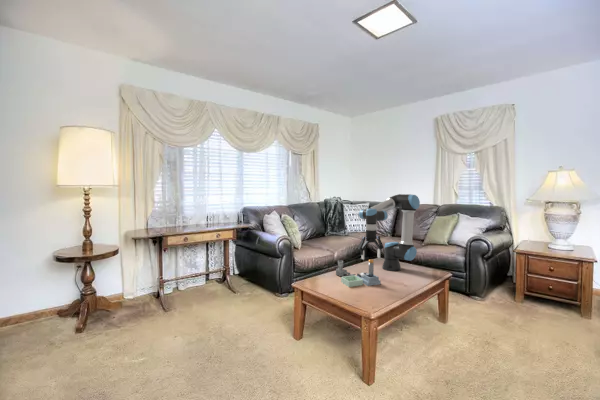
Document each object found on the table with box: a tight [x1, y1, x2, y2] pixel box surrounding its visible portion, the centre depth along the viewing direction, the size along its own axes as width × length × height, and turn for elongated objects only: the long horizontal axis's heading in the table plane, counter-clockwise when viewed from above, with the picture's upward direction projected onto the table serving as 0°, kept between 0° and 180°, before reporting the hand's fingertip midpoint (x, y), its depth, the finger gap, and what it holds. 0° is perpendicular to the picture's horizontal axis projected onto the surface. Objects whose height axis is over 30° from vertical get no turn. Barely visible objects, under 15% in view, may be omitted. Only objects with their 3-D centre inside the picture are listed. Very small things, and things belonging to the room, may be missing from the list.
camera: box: [335, 259, 357, 278], centre depth 231 cm, size 9×12×15 cm
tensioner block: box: [356, 272, 381, 287], centre depth 219 cm, size 17×11×6 cm, turn 19°
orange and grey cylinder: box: [368, 258, 375, 277], centre depth 214 cm, size 4×4×15 cm
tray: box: [340, 275, 364, 288], centre depth 215 cm, size 12×12×4 cm
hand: (370, 258), depth 214 cm, fingers open, 13 cm apart
